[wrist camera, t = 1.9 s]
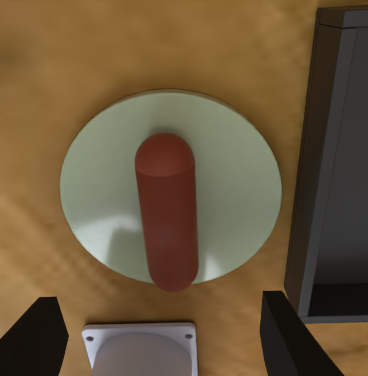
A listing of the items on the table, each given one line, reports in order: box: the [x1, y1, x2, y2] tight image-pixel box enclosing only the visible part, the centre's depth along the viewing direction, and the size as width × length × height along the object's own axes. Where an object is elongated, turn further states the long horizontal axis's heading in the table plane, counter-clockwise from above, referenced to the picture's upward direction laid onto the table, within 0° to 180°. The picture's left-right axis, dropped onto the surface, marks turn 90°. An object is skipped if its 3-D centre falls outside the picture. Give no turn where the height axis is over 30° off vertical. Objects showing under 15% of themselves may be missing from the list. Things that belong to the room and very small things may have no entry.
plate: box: [60, 89, 282, 284], centre depth 19 cm, size 12×12×1 cm
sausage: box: [135, 132, 199, 292], centre depth 17 cm, size 9×3×3 cm, turn 3°
